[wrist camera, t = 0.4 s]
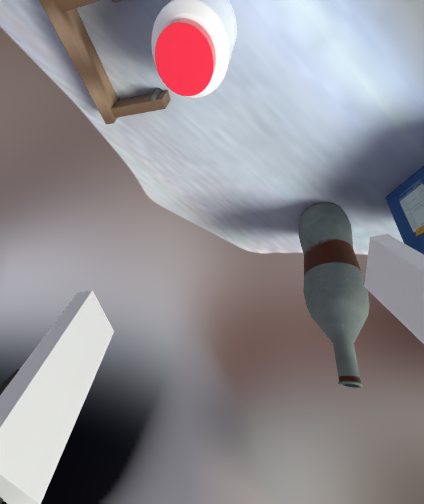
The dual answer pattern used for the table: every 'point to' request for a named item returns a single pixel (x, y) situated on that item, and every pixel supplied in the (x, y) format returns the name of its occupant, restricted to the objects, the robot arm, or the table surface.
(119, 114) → the dock
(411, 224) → the protein box
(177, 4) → the pill bottle
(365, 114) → the table surface
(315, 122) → the table surface
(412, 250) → the robot arm
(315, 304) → the grey-green bottle
